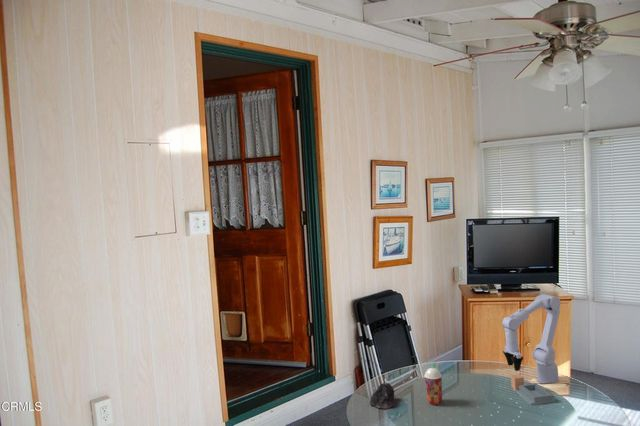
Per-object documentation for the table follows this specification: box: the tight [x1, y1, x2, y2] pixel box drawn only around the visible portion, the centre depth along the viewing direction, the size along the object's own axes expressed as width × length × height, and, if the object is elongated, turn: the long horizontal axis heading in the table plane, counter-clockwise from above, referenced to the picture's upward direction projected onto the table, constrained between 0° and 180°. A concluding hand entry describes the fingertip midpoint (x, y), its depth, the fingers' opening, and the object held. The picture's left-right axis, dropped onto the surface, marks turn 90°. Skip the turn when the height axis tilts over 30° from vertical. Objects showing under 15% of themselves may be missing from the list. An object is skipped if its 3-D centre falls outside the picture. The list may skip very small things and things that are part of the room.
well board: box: [515, 382, 557, 406], centre depth 248 cm, size 12×15×3 cm
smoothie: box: [423, 362, 443, 406], centre depth 251 cm, size 8×8×20 cm
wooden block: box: [510, 373, 525, 391], centre depth 259 cm, size 4×4×6 cm
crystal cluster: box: [369, 382, 396, 410], centre depth 256 cm, size 13×14×10 cm
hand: (513, 367), depth 259 cm, fingers open, 7 cm apart
